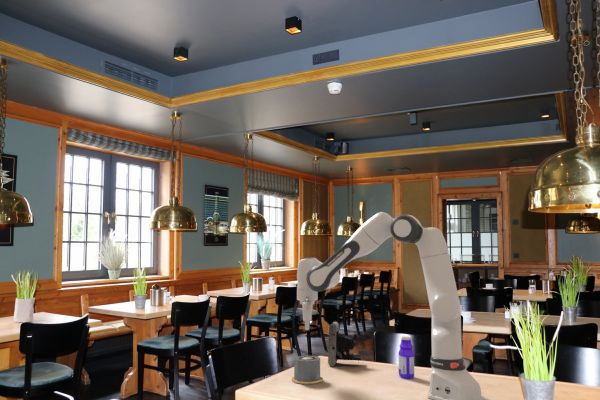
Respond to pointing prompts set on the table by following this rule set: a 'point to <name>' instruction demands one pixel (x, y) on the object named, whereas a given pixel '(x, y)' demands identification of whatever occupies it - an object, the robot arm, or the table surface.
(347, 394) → the table surface
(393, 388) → the table surface
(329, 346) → the vintage camera
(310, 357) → the camera lens
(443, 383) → the robot arm
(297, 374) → the lens barrel
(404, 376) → the bottle
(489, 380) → the table surface
